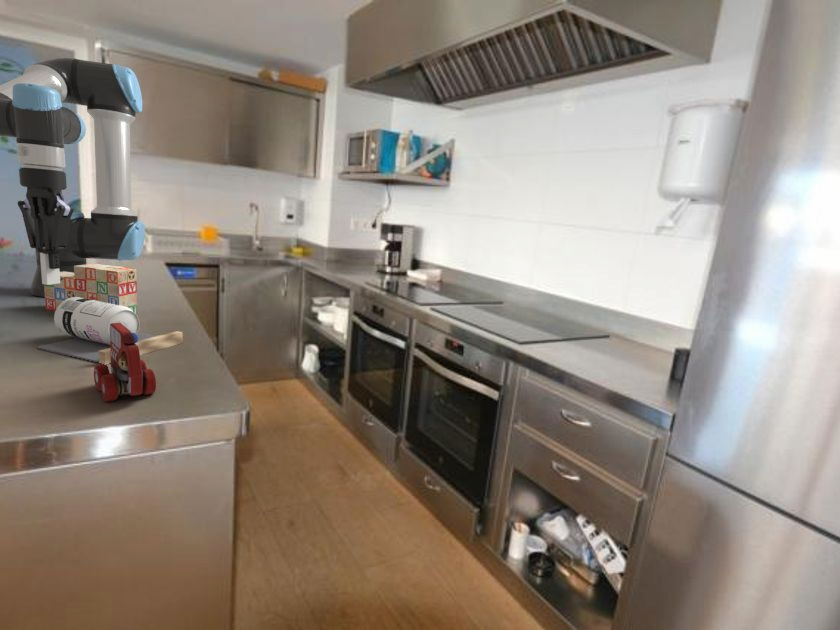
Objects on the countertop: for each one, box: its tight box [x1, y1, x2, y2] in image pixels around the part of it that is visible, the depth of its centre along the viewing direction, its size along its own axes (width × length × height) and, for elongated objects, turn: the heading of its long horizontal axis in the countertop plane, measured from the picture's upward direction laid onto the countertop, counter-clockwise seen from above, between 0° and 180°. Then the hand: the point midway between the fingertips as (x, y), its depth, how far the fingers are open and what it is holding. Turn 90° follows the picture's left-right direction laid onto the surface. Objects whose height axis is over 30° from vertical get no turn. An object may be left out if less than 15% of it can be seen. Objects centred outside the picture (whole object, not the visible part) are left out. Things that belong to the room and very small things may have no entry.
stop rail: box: [98, 330, 184, 365], centre depth 97 cm, size 18×2×2 cm, turn 161°
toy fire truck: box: [93, 323, 157, 403], centre depth 77 cm, size 7×12×10 cm, turn 43°
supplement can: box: [53, 297, 141, 345], centre depth 100 cm, size 8×8×15 cm
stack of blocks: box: [43, 263, 138, 316], centre depth 122 cm, size 21×6×12 cm, turn 80°
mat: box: [36, 331, 157, 363], centre depth 100 cm, size 18×16×1 cm
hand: (51, 283), depth 103 cm, fingers closed
